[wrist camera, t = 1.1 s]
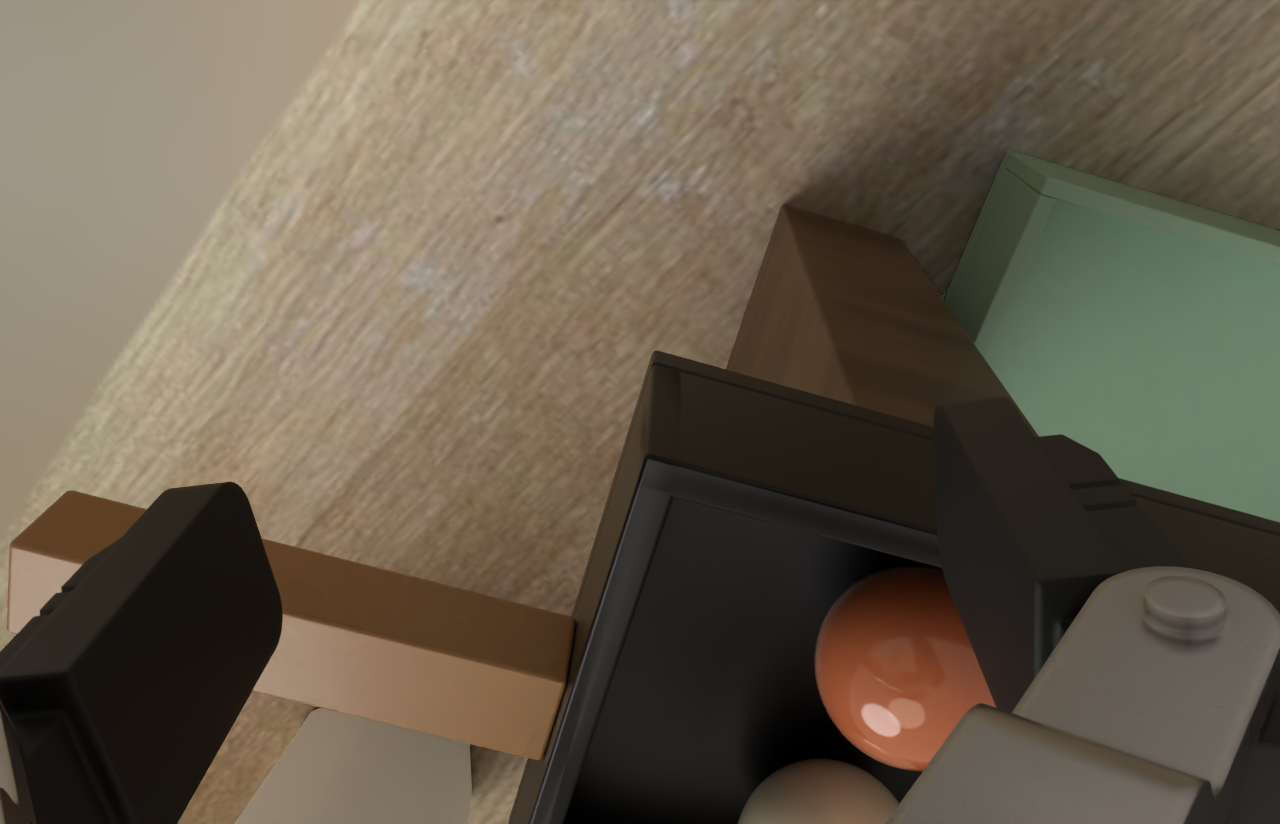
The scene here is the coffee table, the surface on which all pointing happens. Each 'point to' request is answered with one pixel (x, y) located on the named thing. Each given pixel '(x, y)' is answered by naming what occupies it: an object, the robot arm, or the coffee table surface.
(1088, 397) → the tray
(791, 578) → the pan
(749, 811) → the cream ball
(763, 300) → the block
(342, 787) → the cup
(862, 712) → the terracotta ball
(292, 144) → the coffee table surface
